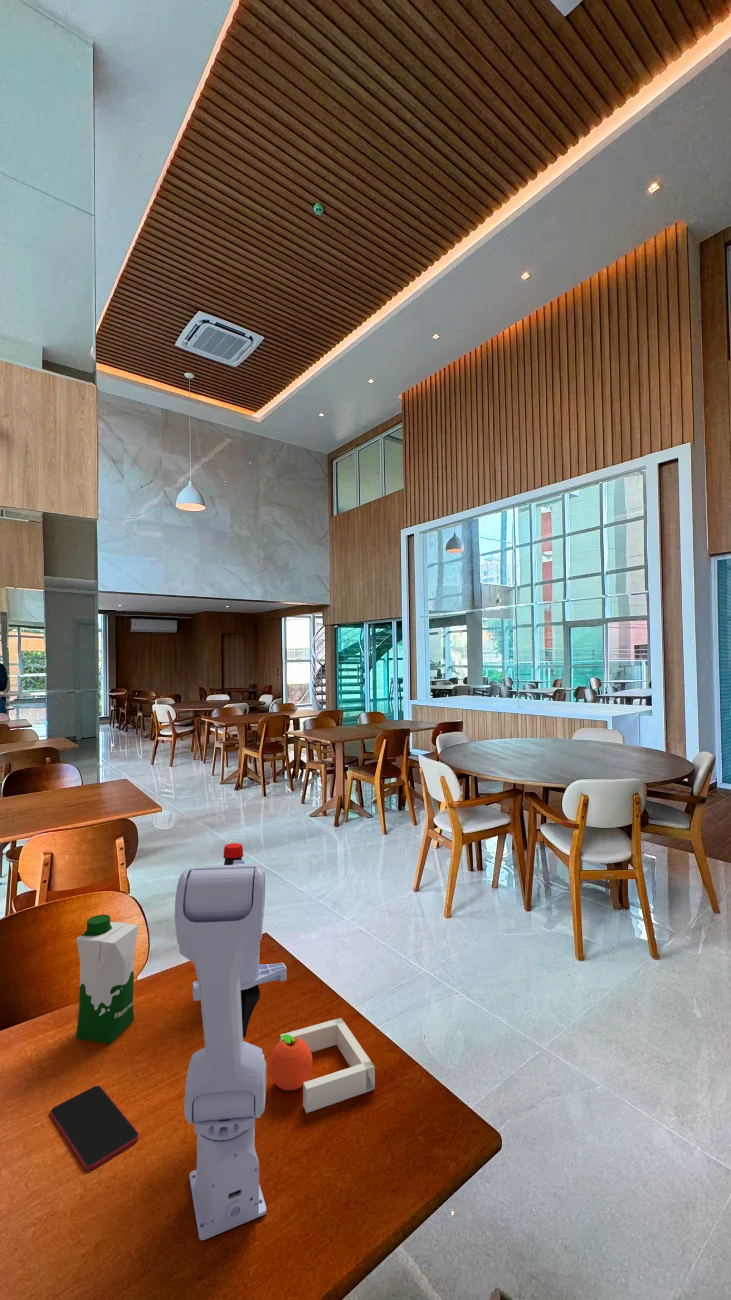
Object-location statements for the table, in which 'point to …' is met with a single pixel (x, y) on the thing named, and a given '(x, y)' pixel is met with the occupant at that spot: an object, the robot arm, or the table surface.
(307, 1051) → the clementine
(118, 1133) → the smartphone
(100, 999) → the milk carton
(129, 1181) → the table surface
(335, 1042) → the holder
